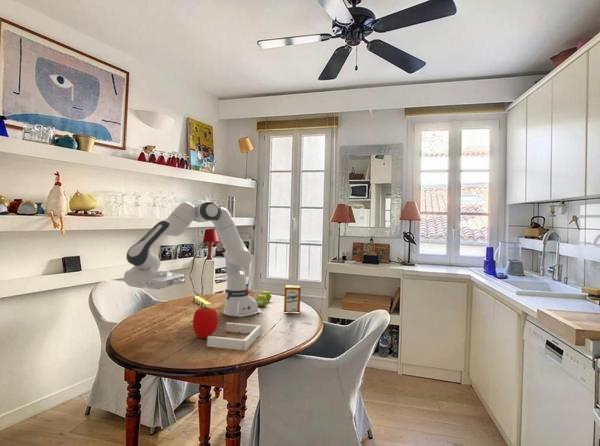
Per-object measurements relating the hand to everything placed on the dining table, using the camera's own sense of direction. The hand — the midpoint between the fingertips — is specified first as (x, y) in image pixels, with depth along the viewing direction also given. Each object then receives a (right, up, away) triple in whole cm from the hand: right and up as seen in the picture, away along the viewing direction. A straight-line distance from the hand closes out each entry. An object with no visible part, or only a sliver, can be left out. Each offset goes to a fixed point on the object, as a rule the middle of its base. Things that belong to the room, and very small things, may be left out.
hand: (183, 281), depth 157 cm
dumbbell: (+31, -26, +63) cm, 75 cm away
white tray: (+25, -26, -5) cm, 36 cm away
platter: (-9, -25, +54) cm, 61 cm away
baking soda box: (+50, -27, +46) cm, 73 cm away
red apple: (+11, -25, -2) cm, 28 cm away
